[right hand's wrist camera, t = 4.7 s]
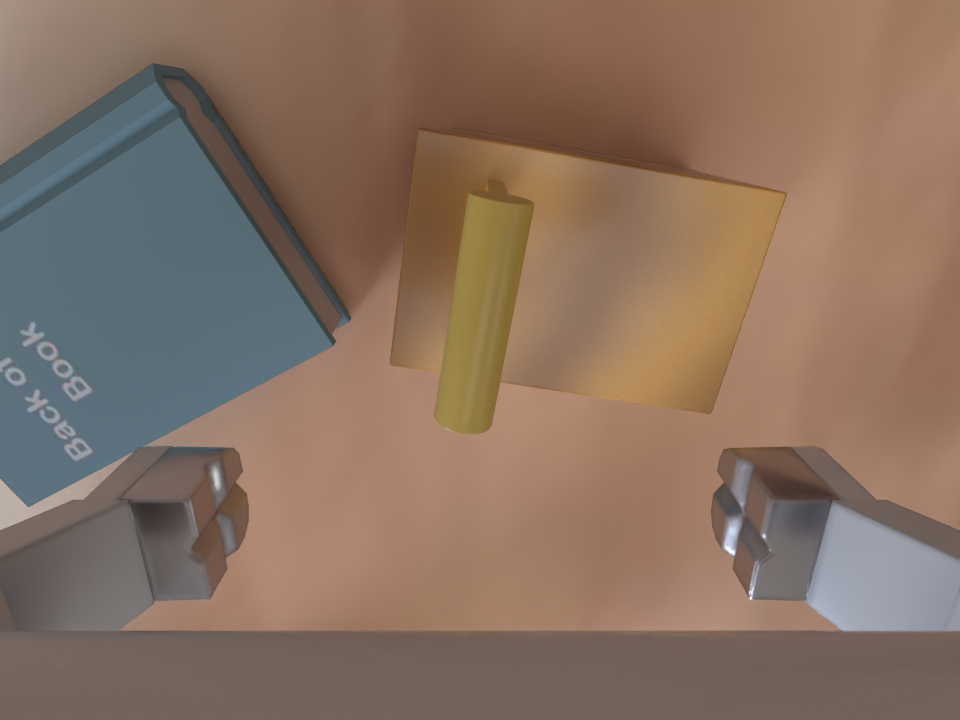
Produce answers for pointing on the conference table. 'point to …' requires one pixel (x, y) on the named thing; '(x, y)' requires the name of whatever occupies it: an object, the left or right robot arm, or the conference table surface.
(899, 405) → the conference table surface
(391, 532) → the conference table surface
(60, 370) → the book
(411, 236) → the lid
